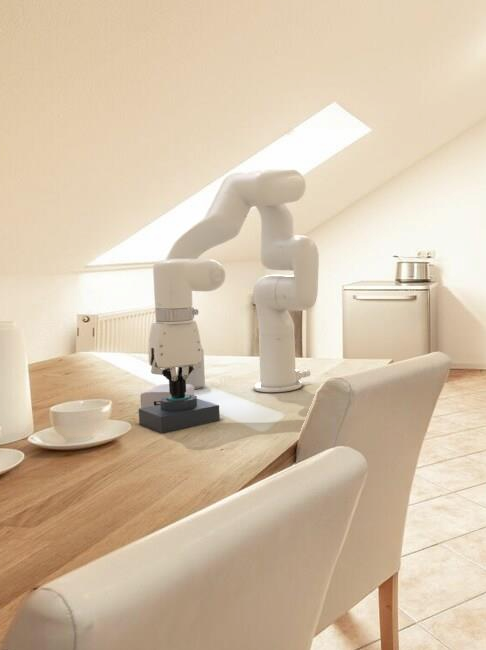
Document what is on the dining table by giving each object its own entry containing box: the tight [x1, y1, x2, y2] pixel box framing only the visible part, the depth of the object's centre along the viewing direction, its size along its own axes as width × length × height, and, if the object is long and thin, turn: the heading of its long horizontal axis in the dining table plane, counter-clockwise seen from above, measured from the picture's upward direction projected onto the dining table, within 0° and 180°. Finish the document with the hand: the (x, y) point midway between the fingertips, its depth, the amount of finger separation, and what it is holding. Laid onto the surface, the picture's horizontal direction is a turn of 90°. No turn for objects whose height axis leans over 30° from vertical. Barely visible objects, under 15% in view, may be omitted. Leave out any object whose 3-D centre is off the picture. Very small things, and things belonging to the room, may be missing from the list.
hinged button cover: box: [139, 383, 195, 408], centre depth 158 cm, size 5×9×15 cm
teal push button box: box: [138, 394, 221, 434], centre depth 142 cm, size 13×11×6 cm
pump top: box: [168, 395, 190, 401], centre depth 142 cm, size 4×4×2 cm
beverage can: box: [186, 344, 206, 390], centre depth 176 cm, size 6×6×12 cm
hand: (178, 396), depth 141 cm, fingers closed
